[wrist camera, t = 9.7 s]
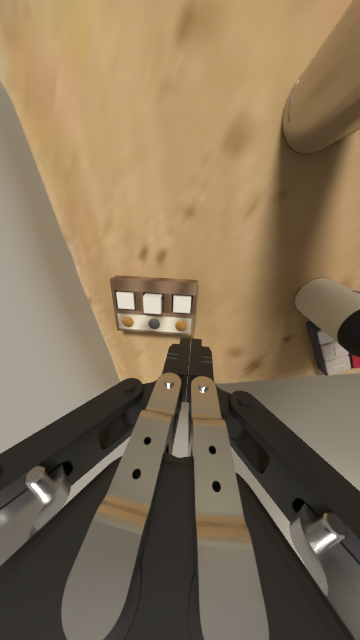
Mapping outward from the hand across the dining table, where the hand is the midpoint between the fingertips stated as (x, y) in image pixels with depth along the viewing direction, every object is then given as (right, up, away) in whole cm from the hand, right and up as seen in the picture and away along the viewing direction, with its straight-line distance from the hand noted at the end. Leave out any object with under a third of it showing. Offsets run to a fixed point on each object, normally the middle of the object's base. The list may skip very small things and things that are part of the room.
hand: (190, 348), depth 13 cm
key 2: (0, +6, +26) cm, 27 cm away
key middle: (-6, +6, +25) cm, 27 cm away
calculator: (+36, -2, +29) cm, 46 cm away
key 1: (-12, +7, +27) cm, 30 cm away
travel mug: (+27, +7, +24) cm, 37 cm away
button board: (-6, +6, +28) cm, 29 cm away
